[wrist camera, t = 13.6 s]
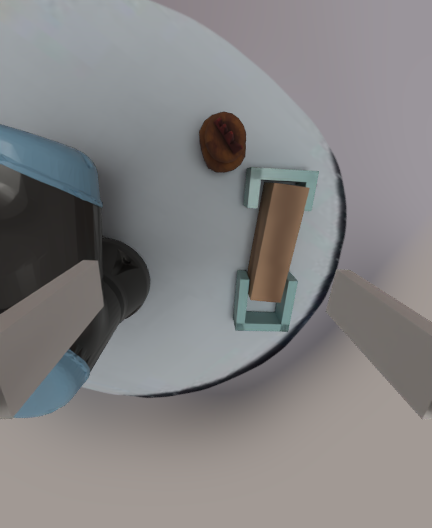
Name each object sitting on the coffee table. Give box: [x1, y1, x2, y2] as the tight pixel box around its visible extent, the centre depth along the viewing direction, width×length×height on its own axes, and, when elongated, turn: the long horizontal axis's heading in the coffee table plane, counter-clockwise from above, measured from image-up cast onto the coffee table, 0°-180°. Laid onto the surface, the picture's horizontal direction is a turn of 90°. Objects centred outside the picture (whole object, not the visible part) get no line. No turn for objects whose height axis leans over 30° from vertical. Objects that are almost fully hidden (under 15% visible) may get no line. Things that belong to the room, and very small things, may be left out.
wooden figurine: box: [199, 112, 246, 172], centre depth 27 cm, size 7×6×15 cm
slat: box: [247, 182, 310, 303], centre depth 37 cm, size 5×18×6 cm, turn 173°
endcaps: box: [233, 167, 319, 332], centre depth 39 cm, size 10×27×4 cm, turn 177°
